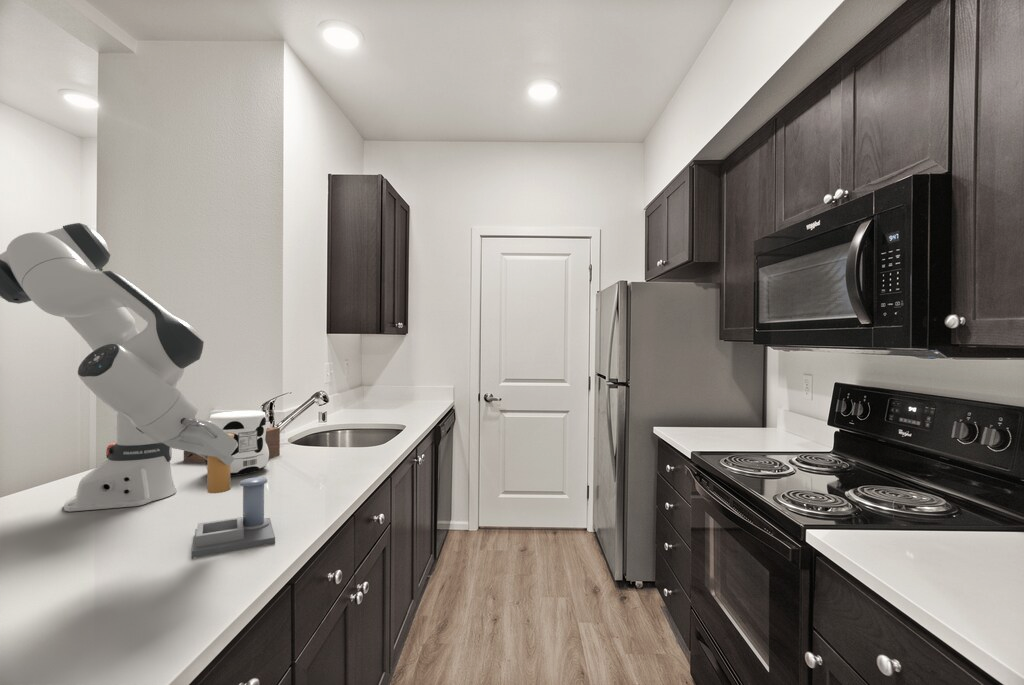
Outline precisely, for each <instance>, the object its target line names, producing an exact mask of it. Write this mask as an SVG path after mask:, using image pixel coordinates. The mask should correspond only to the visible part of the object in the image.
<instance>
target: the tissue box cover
mask: <svg viewBox="0 0 1024 685" xmlns="http://www.w3.org/2000/svg"><path fill="white" fill-rule="evenodd" d="M280 437H281V428H280V427H269V426H266V442H267V446H268V449H269V459H272V458H274V457H278V456H280V452H281V447H280V446H281V445H280V444H281V443H280V440H281V438H280ZM188 461H190V463H192V462H193V463H195V462H196V463H205V458H204V457H202V456H200V455H198V454H196V453H193V452H189V451H184V450H183V462H188Z"/></svg>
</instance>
